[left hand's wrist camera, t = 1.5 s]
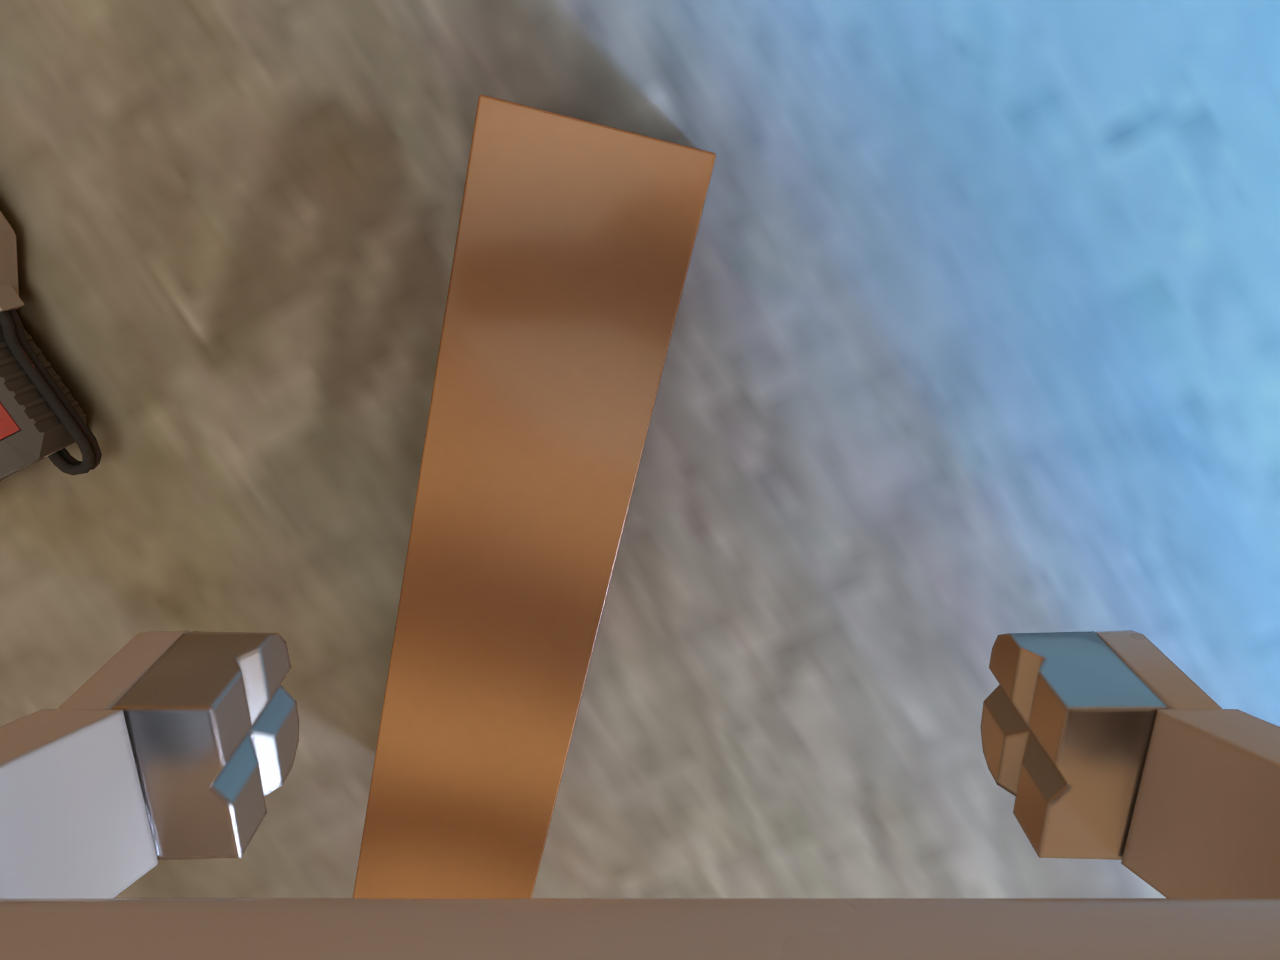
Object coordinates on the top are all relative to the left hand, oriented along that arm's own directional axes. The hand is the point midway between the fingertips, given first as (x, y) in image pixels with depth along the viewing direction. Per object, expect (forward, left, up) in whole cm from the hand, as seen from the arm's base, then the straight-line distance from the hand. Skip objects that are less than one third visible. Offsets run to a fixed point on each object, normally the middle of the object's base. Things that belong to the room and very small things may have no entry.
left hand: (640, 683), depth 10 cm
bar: (+8, +4, -23) cm, 24 cm away
